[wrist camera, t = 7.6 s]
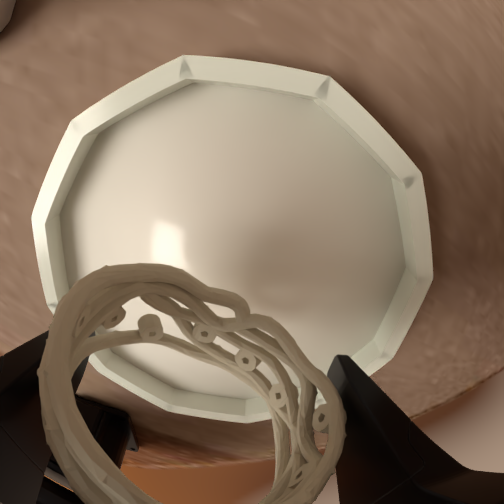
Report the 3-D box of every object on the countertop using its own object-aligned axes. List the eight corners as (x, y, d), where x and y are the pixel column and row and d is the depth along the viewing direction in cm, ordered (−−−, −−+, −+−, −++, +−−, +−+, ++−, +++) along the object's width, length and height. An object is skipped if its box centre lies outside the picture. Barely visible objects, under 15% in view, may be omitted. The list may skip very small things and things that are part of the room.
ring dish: (342, 404, 17) (347, 426, 15) (83, 365, 16) (73, 384, 15) (453, 129, 10) (478, 134, 8) (59, 69, 9) (34, 67, 7)
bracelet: (277, 380, 12) (286, 559, 5) (102, 305, 11) (4, 479, 3) (334, 317, 11) (392, 532, 3) (128, 218, 9) (-44, 422, 2)
